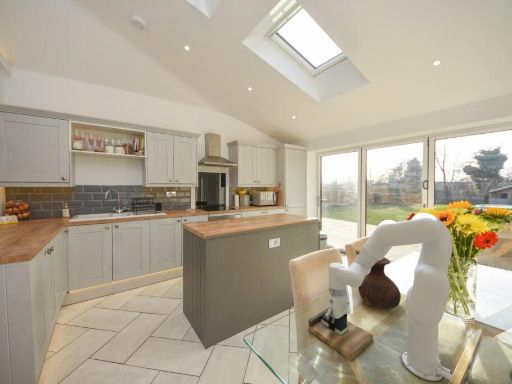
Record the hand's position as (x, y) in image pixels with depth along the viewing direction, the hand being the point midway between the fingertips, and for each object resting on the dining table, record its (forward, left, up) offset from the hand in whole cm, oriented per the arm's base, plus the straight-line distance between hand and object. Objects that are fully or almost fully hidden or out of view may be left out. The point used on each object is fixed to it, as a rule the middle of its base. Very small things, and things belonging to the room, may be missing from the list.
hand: (337, 325), depth 102 cm
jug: (0, -40, -5) cm, 40 cm away
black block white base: (+2, 0, -2) cm, 3 cm away
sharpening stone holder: (-1, 0, -4) cm, 5 cm away
